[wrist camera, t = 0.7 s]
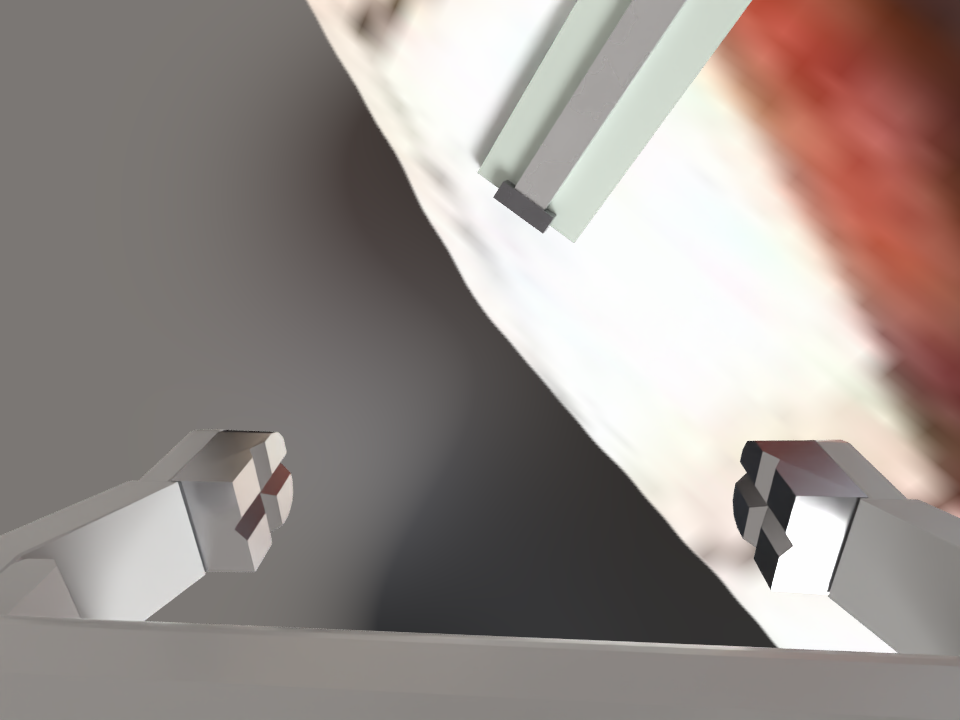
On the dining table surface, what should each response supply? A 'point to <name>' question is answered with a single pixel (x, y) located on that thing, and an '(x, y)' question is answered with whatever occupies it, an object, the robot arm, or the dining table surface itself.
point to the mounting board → (632, 120)
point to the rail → (589, 109)
